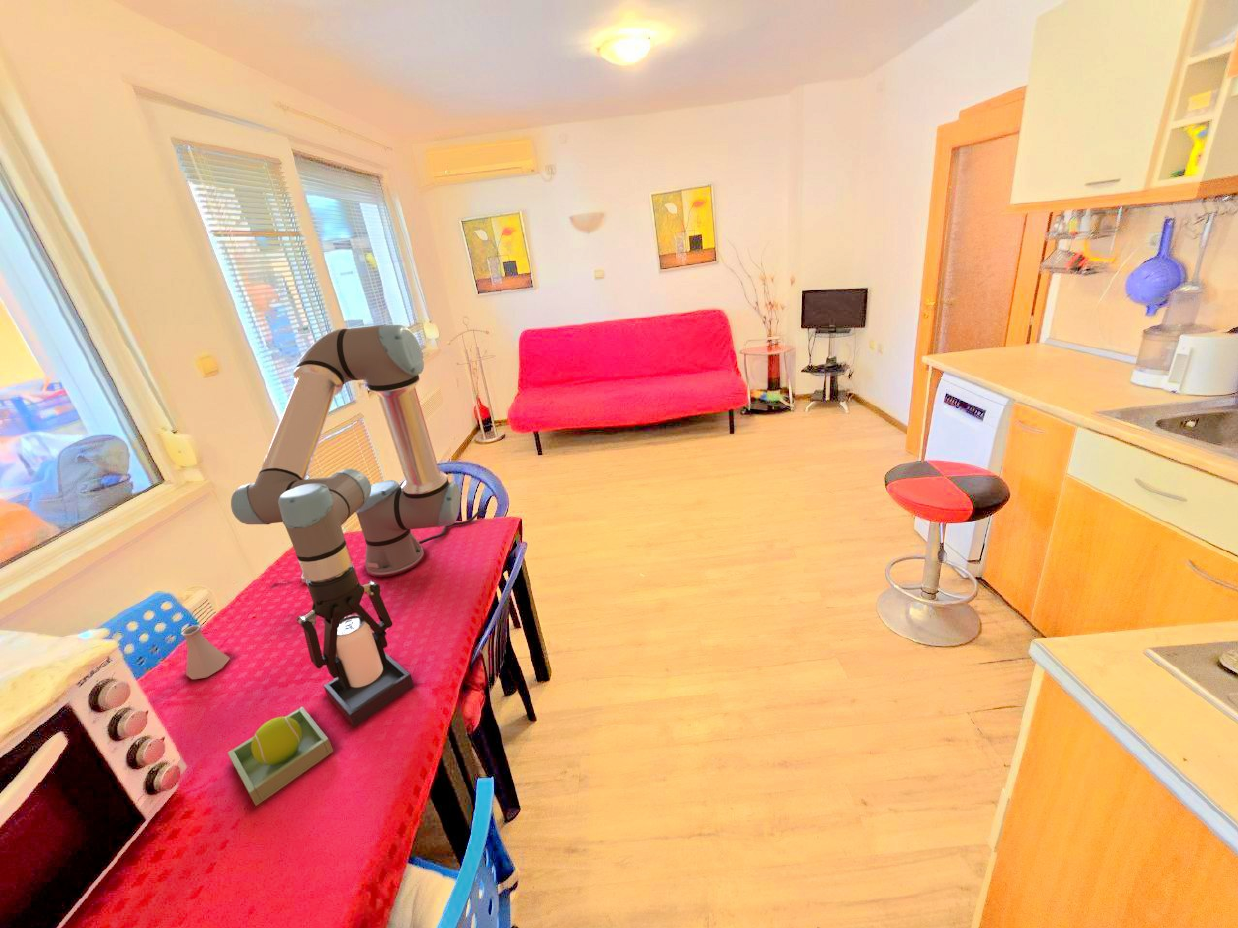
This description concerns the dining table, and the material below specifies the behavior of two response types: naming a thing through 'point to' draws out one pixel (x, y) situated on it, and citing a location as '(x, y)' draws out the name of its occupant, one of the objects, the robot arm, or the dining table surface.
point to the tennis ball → (276, 740)
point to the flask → (202, 654)
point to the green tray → (274, 777)
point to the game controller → (301, 578)
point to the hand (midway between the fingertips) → (364, 673)
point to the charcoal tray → (370, 693)
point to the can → (358, 652)
